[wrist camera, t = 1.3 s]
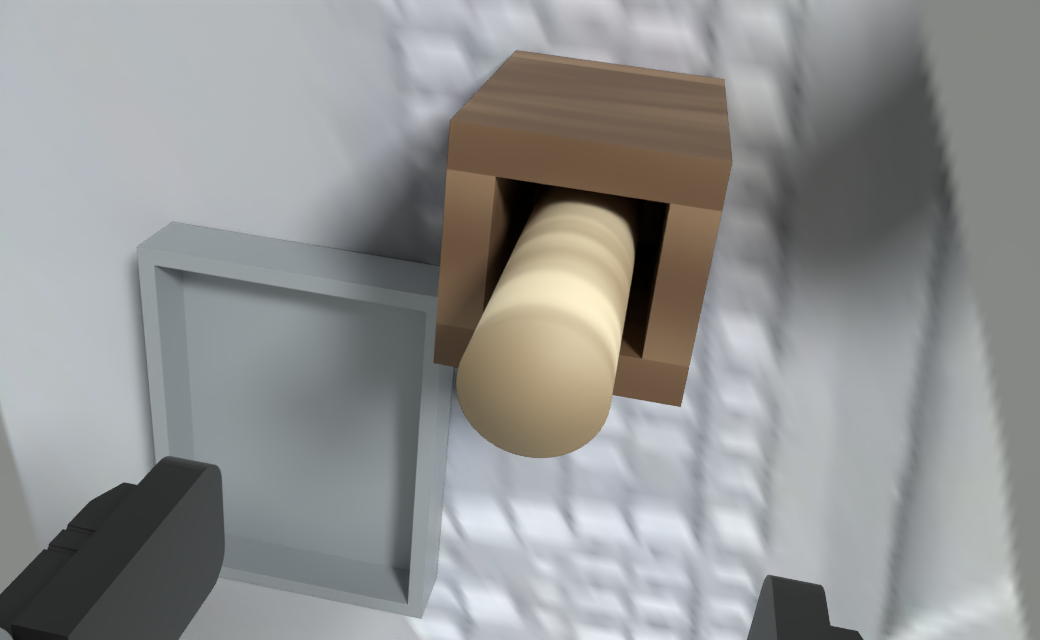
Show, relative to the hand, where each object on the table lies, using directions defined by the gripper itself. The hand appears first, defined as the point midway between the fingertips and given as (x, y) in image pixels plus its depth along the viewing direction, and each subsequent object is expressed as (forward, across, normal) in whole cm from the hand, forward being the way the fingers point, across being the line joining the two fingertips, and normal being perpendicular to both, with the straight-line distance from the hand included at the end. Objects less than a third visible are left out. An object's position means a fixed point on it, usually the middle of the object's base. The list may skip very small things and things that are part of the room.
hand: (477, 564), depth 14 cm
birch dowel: (+19, 0, 0) cm, 19 cm away
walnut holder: (+20, 0, 0) cm, 20 cm away
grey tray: (+20, +10, +12) cm, 25 cm away
